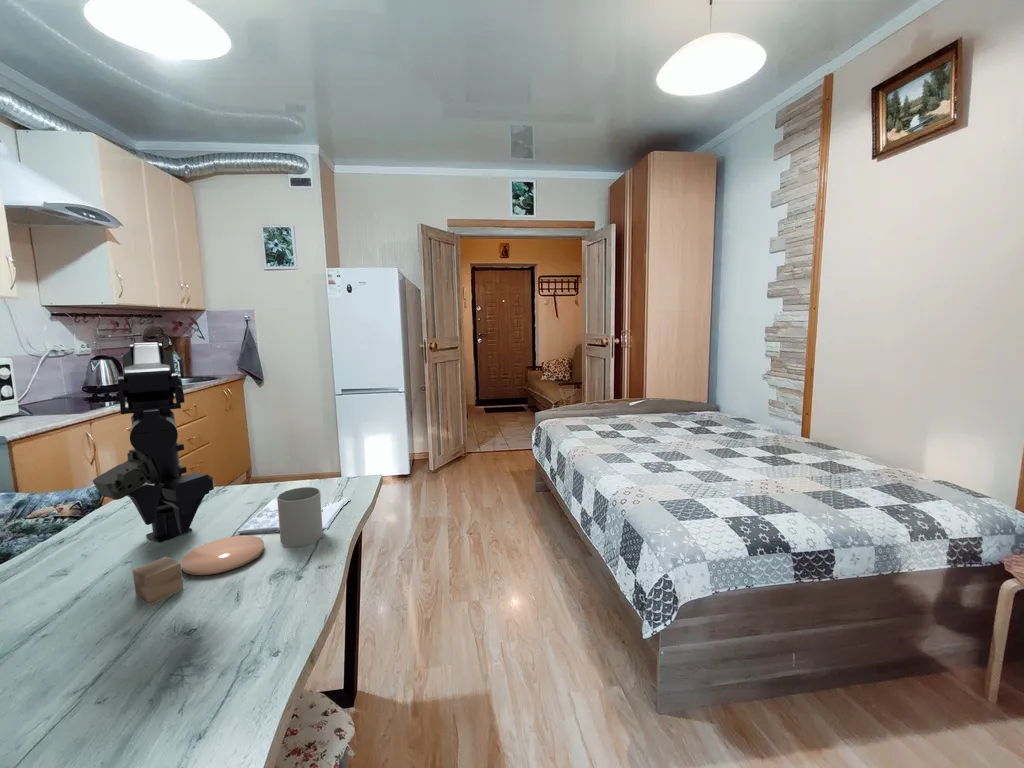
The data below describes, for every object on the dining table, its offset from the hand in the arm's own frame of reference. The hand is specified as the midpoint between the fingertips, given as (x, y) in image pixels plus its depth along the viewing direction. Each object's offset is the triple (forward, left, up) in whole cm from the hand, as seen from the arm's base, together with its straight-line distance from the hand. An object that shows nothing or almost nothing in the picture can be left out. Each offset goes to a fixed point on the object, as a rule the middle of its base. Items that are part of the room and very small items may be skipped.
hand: (166, 528), depth 78 cm
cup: (+3, +23, -12) cm, 26 cm away
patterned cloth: (-8, +30, -12) cm, 34 cm away
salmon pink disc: (-3, +10, -11) cm, 15 cm away
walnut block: (-1, -2, -11) cm, 12 cm away
